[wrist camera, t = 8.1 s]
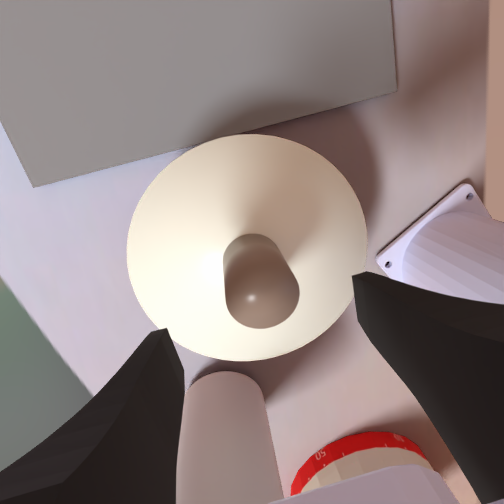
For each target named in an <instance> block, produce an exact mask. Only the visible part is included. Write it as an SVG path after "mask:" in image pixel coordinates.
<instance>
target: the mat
mask: <svg viewBox="0 0 504 504" xmlns="http://www.w3.org/2000/svg"><path fill="white" fill-rule="evenodd" d="M393 92H397V84H396V70H395V56H394V42H393V28H392V14H391V1H390V0H0V121H1V123H2V125H3V127H4V129H5V131H6V134H7V136H8V138H9V140H10V142H11V144H12V146H13V148H14V150H15V152H16V154H17V156H18V158H19V160H20V162H21V164H22V166H23V168H24V170H25V172H26V174H27V176H28V178H29V180H30V182H31V184H32V186H33V188H35V187H39V186H42V185H46V184H50V183H54V182H57V181H61V180H65V179H69V178H73V177H76V176H80V175H84V174H88V173H91V172H95V171H99V170H103V169H106V168H110V167H114V166H118V165H122V164H125V163H129V162H133V161H137V160H140V159H144V158H148V157H152V156H156V155H159V154H163V153H167V152H171V151H174V150H178V149H182V148H186V147H190V146H193V145H197V144H201V143H205V142H208V141H212V140H215V139H218V138H221V137H227V136H231V135H235V134H239V133H242V132H246V131H250V130H254V129H257V128H261V127H265V126H269V125H273V124H276V123H280V122H284V121H288V120H291V119H295V118H299V117H303V116H307V115H310V114H314V113H318V112H322V111H325V110H329V109H333V108H337V107H341V106H344V105H348V104H352V103H356V102H359V101H363V100H367V99H371V98H375V97H378V96H382V95H386V94H390V93H393Z"/></svg>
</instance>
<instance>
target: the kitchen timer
mask: <svg viewBox="0 0 504 504" xmlns="http://www.w3.org/2000/svg"><path fill="white" fill-rule="evenodd" d="M406 464H416V465H420V466H422V467H425V468H428V469H430V470H433V469H432V467H431V465H430V464H429V462H428V460H427V459H426V457H425V456H424V454H423V453H422V451H421V450H420V448H419V447H418V445H416V444H415V443H413V442H412V441H411V440H409V439H408V438H406V437H404V436H401V435H397V434H394V433H390V432H364V433H360V434H355V435H350V436H346V437H344V438H342V439H340V440H337V441H335V442H333V443H330V444H328V445H326V446H325V447H324V448H322V449H321V450H319V451H318V452H317V453H315V454H314V455H312V456H311V457H310V458H309V459H308V460H307V461H306V463H305V464H304V465H303V466H302V467H301V468H300V469H299V470H298V472H297V475H296V477H295V479H294V481H293V483H292V485H291V496H293V495H296V494H300V493H303V492H306V491H309V490H313V489H316V488H319V487H323V486H326V485H329V484H332V483H336V482H339V481H342V480H346V479H349V478H352V477H356V476H359V475H362V474H365V473H369V472H372V471H375V470H379V469H382V468H385V467H388V466H397V465H406ZM433 471H434V470H433Z"/></svg>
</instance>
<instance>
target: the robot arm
mask: <svg viewBox="0 0 504 504" xmlns="http://www.w3.org/2000/svg"><path fill="white" fill-rule="evenodd" d="M468 194H469V197H468V198H467V199H466V196H467V195H468ZM388 261H389V264H388V265H387V266H385V264H386V262H388ZM376 262H377V264H378V265H379V266H380V267H381V268H382V270H383V271H384V272H385V273H386V274H387V276H388V277H389V278H388V277H385V276H382V275H378V274H375V273H372V272H367V271H366V272H363V273H359V274H356V275H352V283H353V290H354V297H355V304H356V311H357V318H358V322H359V323H360V325H361V327H362V328H363V330H364V332H365V333H366V335H367V337H368V338H369V340H370V341H371V343H372V344H373V345H374V346H375V348H376V349H377V350H378V351H379V353H380V354H381V355H382V356H383V358H384V359H385V360H386V361H387V362H388V364H389V365H390V366H391V367H392V369H393V370H394V371H395V372H396V373H397V375H398V376H399V377H400V378H401V379H402V381H403V382H404V383H405V384H406V386H407V387H408V388H409V389H410V391H411V392H412V393H413V395H414V396H415V397H416V399H417V400H418V402H419V403H420V405H421V406H422V408H423V409H424V411H425V412H426V414H427V415H428V417H429V418H430V420H431V421H432V423H433V425H434V426H435V428H436V429H437V431H438V432H439V434H440V436H441V437H442V439H443V440H444V442H445V444H446V445H447V447H448V448H449V450H450V451H451V453H452V455H453V456H454V458H455V460H456V461H457V463H458V465H459V466H460V468H461V470H462V471H463V473H464V475H465V476H466V478H467V480H468V481H469V483H470V485H471V486H472V488H473V490H474V492H475V493H476V495H477V497H478V499H479V500H480V502H481V504H504V222H500V221H497V220H494V219H492V217H491V216H490V214H489V213H488V211H487V209H486V208H485V206H484V205H483V203H482V201H481V200H480V198H479V197H478V195H477V193H476V192H475V190H474V189H473V187H472V186H471V185H470V184H466V183H463V184H461V185H459V186H458V187H457V188H456V189H454V190H453V191H452V192H451V193H450V194H448V195H447V196H446V197H445V198H444V199H443V200H441V201H440V202H439V203H438V204H437V205H436V206H434V207H433V208H432V209H431V210H430V211H428V212H427V213H426V214H425V215H424V216H423V217H421V218H420V219H419V220H418V221H417V222H415V223H414V224H413V225H412V226H411V227H410V228H408V229H407V230H406V231H405V232H404V233H403V234H401V235H400V236H399V237H398V238H397V239H395V240H394V241H393V242H392V243H391V244H390V245H388V246H387V247H386V248H385V249H384V250H383V251H381V252H380V253H379V254H378V255H377V257H376ZM184 396H185V384H184V369H183V366H182V364H181V361H180V359H179V356H178V354H177V351H176V349H175V346H174V344H173V342H172V339H171V337H170V334H169V332H168V329H167V328H164V329H160V330H157V331H153V332H151V333H150V334H149V335H148V336H147V337H146V338H145V339H144V340H143V342H142V343H141V344H140V345H139V346H138V348H137V349H136V350H135V351H134V353H133V354H132V355H131V356H130V357H129V359H128V360H127V361H126V362H125V363H124V365H123V366H122V367H121V368H120V369H119V370H118V372H117V373H116V374H115V375H114V376H113V377H112V378H111V379H110V380H109V382H108V383H107V384H106V385H105V386H104V387H103V388H102V389H101V390H100V391H99V392H98V393H97V394H96V395H95V396H94V397H93V398H92V399H91V400H90V401H89V402H88V403H87V404H86V405H85V406H84V407H83V408H82V409H81V410H80V411H79V412H78V413H76V414H75V415H74V416H73V417H72V418H71V419H70V420H68V421H67V422H66V423H65V424H63V425H62V426H61V427H60V428H59V429H57V430H56V431H55V432H54V433H53V434H51V435H50V436H49V437H48V438H47V439H45V440H44V441H43V442H42V443H40V444H39V445H37V446H36V447H35V448H34V449H32V450H31V451H30V452H28V453H27V454H25V455H24V456H23V457H21V458H20V459H18V460H17V461H15V462H14V463H13V464H11V465H10V466H8V467H7V468H5V469H4V470H2V471H1V472H0V504H176V471H177V456H178V447H179V439H180V431H181V423H182V414H183V405H184ZM268 504H460V503H459V502H458V500H457V499H456V498H455V496H454V495H453V493H452V492H451V490H450V489H449V487H448V486H447V484H446V483H445V481H444V480H443V478H442V477H441V475H440V474H439V473H438V472H436V471H433V470H430V469H428V468H425V467H422V466H420V465H416V464H406V465H397V466H388V467H385V468H382V469H379V470H375V471H372V472H369V473H365V474H362V475H359V476H356V477H352V478H349V479H346V480H342V481H339V482H336V483H332V484H329V485H326V486H323V487H319V488H316V489H313V490H309V491H306V492H303V493H300V494H296V495H293V496H290V497H286V498H283V499H280V500H276V501H273V502H270V503H268Z"/></svg>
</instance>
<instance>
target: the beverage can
mask: <svg viewBox="0 0 504 504" xmlns="http://www.w3.org/2000/svg"><path fill="white" fill-rule="evenodd" d="M283 498H284V495H283V490H282V485H281V481H280V476H279V471H278V466H277V461H276V456H275V451H274V446H273V442H272V437H271V432H270V427H269V422H268V417H267V412H266V407H265V402H264V398H263V394H262V391H261V389H260V387H259V386H258V384H257V383H256V382H255V381H254V380H253V379H251V378H250V377H248V376H246V375H244V374H241V373H237V372H231V371H221V372H215V373H212V374H209V375H206V376H204V377H202V378H200V379H199V380H197V381H196V382H195V383H194V384H192V386H191V387H190V388H189V389H188V391H187V392H186V394H185V396H184V405H183V414H182V423H181V431H180V439H179V447H178V456H177V471H176V504H268V503H270V502H273V501H276V500H280V499H283Z"/></svg>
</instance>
